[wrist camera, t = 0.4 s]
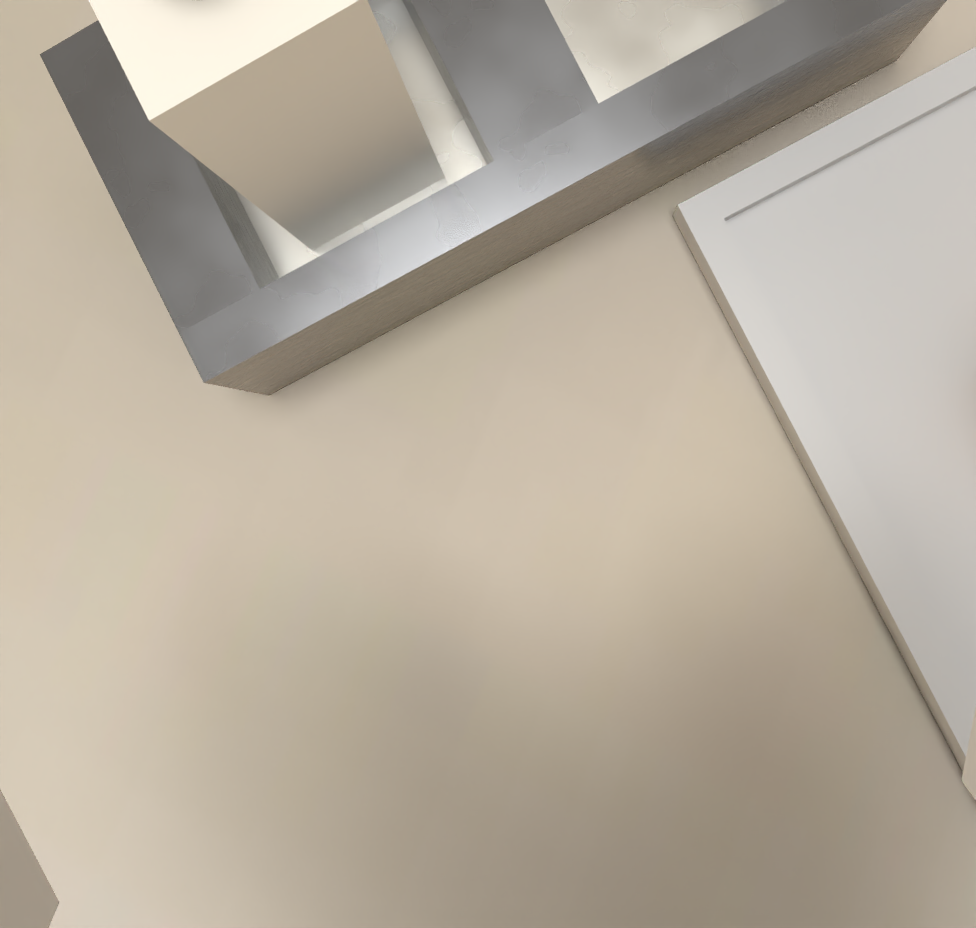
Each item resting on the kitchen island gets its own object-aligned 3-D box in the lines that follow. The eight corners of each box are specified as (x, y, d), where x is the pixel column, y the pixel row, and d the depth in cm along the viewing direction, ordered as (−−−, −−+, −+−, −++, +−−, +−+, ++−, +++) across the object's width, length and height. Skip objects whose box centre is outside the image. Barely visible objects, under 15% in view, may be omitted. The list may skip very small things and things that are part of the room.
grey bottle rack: (896, 60, 26) (975, -34, 21) (268, 395, 28) (204, 382, 23) (743, -227, 26) (785, -385, 21) (132, 125, 28) (40, 54, 23)
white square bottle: (445, 177, 25) (335, -73, 13) (312, 250, 26) (87, 71, 14) (376, 43, 25) (205, -325, 13) (244, 117, 26) (-36, -175, 14)
